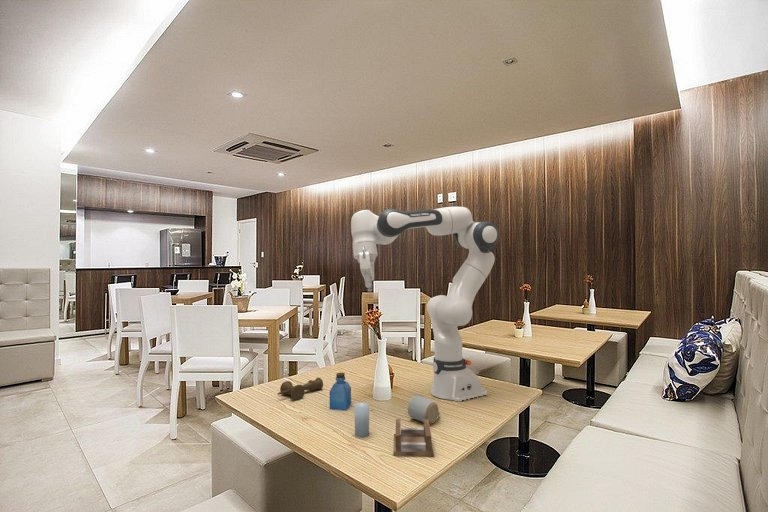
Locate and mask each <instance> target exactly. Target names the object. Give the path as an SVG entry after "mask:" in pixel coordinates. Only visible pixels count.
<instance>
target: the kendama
mask: <svg viewBox="0 0 768 512" xmlns="http://www.w3.org/2000/svg"><path fill="white" fill-rule="evenodd" d="M279 388H280V389H279V391H280V392H277V395H282V396H289V395H290V396H291V399H292V400H293V401H295V402H296V401H300V400H302V399H303V398H304V396H305V393H306V391H310V392H313V391H315V390H318V391H319V390H320V391H321V390H323V388H324V381H323V379H322V378H321V377H316V378H315V379H314V380H312V379H311V380H308V382H306V383H304V384H296V385H293V383H292V382H291V381H289V380H288V381H287V380H285V381H284V382H282V384H281V385H280V386H279Z"/></svg>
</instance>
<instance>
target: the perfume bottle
mask: <svg viewBox="0 0 768 512" xmlns="http://www.w3.org/2000/svg"><path fill="white" fill-rule="evenodd" d="M335 375H336V376H335V382H334V383H333V385H332V386H331V389H330V390H329V410H335V411H347V410H348V409H349V408H350V406H351V405H352V387H351V385H350V383H349V382H348V381H346V376H345V375H346V373H345V372H336V373H335Z"/></svg>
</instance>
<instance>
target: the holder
mask: <svg viewBox="0 0 768 512" xmlns="http://www.w3.org/2000/svg"><path fill="white" fill-rule="evenodd" d="M401 426H402V425H401V418H395V433H393V451H392V453H393V454H392V456H395V457H397V456H399V457H434V455H435V454H434V452H435V451H434V447H433V442H432V432H431V428H430V427H431V425H430V424H429V420H428V419H424V422H423V427H401Z"/></svg>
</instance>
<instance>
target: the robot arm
mask: <svg viewBox="0 0 768 512" xmlns="http://www.w3.org/2000/svg"><path fill="white" fill-rule="evenodd" d="M350 220H351V221H350V233H351V237H352V250H353V251H352V252H353V259H355V260H357V263H358V264H359V269H360V273H361V275H362V278H363V279H364V285H365V287H366V289H367V292H373V281H375V261H376V259H377V257H378V249H377V245H383V246H387V245H390V244H392V243H393V242H394V241H395V240H396V239H397V238H398V236H399V235H400V234H402V233H403V232H405V231H407V230H410V229H418V228H425V229H426V230H427V231H428V233H429V234H430V235H432V236H436V237H437V236H439V237H440V236H441V237H442V236H447V235H452V234H453V236H454V240H455V243H456V245H457V246H458V247H460V248H461V249H462V250H463V249H464V250H468V251H469V252H468V254H467V258H466V259H465V261H464V262H462V265H461V266H460V268H459V269H458V271H456V273H455V274H454V276H453V278H452V280H451V281H452V285H451V289H450V291H449V293H448V295H444V294H440V295H436V296H433V297H430V299H429V300H428V301H427V304H426V311H427V313H428V315H429V317H430V319H429V320H430V323H431V327H432V332H433V339H434V341H433V342H434V346H433V347H434V357H433V366H432V367H433V378H432V379H433V380H432V386H431V390H430V394H431V395H432V396H434V398H435V397H436V398H439V399H442V400H449V401H455V402H463V401H462V400H464V401H467V400H466V399H468V400H471V399H470V398H473V399H475V398H474V397H477V398H479V397H478V396H482V397H484V396H483V395H486V396H488V391H487V389H485V388H484V387H483V386H482V382H481V380H480V378H479V376H478V375H477V374H476V373H474V372H473V371H472V370H470V369H469V368H468V367H467V366H471V365H472V361H471V360H469V359H465V358H463V338H462V336H461V334H460V332H459V329H458V327H462V326H463V327H464V326H465V325H467V324H469V323H470V321H471V320H472V317H473V308H472V307H473V303H474V300H475V297H476V295H477V293H478V291H479V290H480V289H481V287H482V285H483V284H484V282H485V281H486V279H487V278H488V276H489V275H490V272H491V270H492V269H493V266H494V263H495V261H496V260H495V259H496V257H495V254H494V253H493V251H494V250H496V245H497V243H498V241H499V237H500V236H499V235H500V233H499V229H498V227H497V226H496V225H495V224H494V223H492V222H489V221H479V222H478V221H476V222H475V221H474V220H473V216H472V213H471V211H470V209H469V208H468V207H465V206H446V207H439V208H438V207H437V208H433V209H420V210H409V211H408V210H407V211H405V210H400V209H396V208H387V209H385V210H383V211H382V212H381V213H380V214H379V215H377V214H375V213H374V212H372V211H371V209H362V210H359V211H357V212H355V213H354V214H353V215H352V217H351V219H350Z"/></svg>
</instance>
